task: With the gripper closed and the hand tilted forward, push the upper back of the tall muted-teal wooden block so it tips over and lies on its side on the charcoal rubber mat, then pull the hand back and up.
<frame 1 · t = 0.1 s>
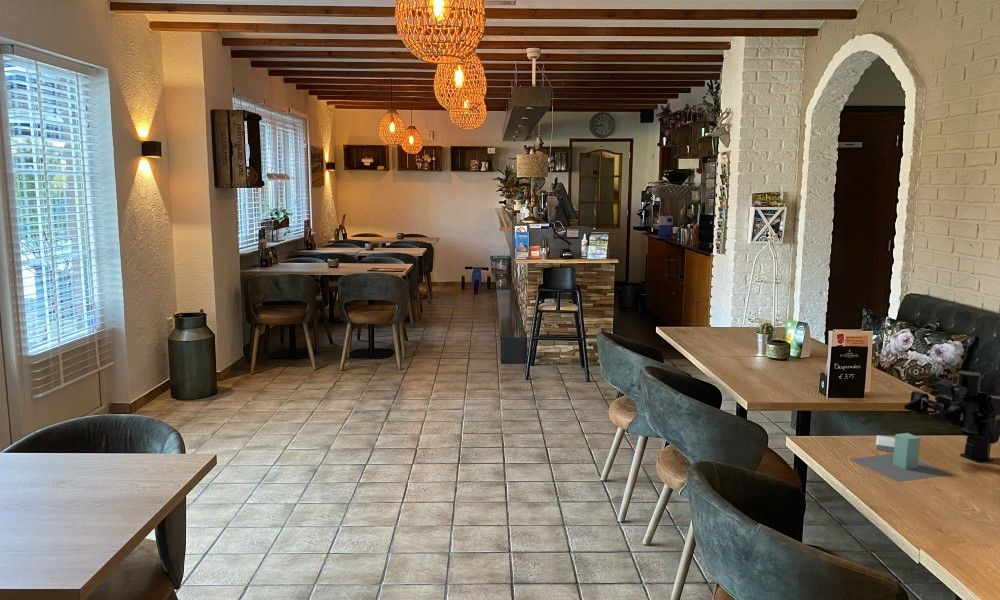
hand: (917, 411, 217), 17 cm above the table, tool horizontal, fingers open, 9 cm apart
rubber mat: (899, 467, 217), on the table
hard drive: (890, 447, 235), on the table, touching rubber mat
teal block: (904, 465, 218), resting on rubber mat
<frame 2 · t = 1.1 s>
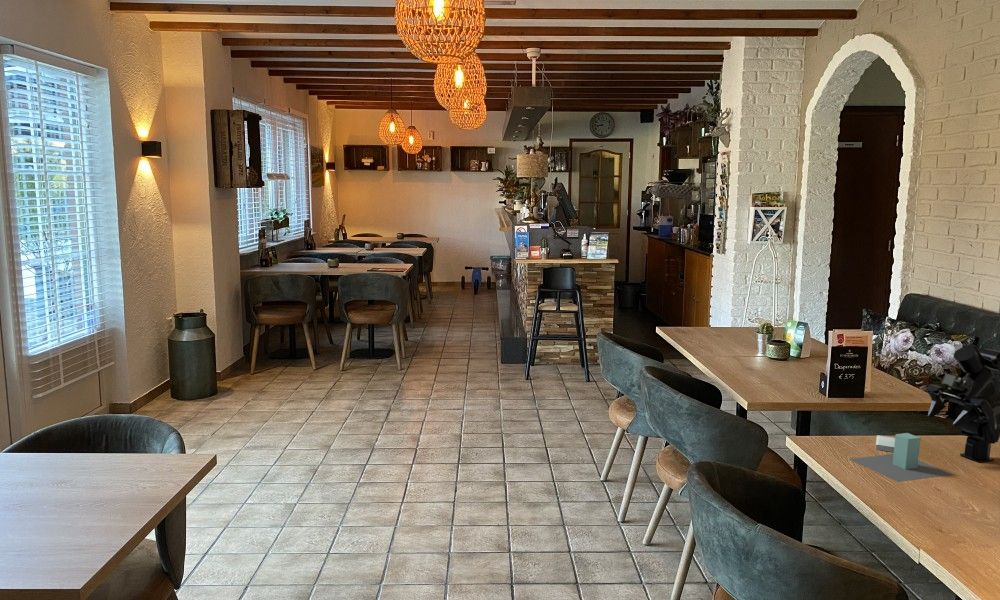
hand: (940, 421, 220), 13 cm above the table, tool tilted 45°, fingers open, 8 cm apart
nothing on the table moved.
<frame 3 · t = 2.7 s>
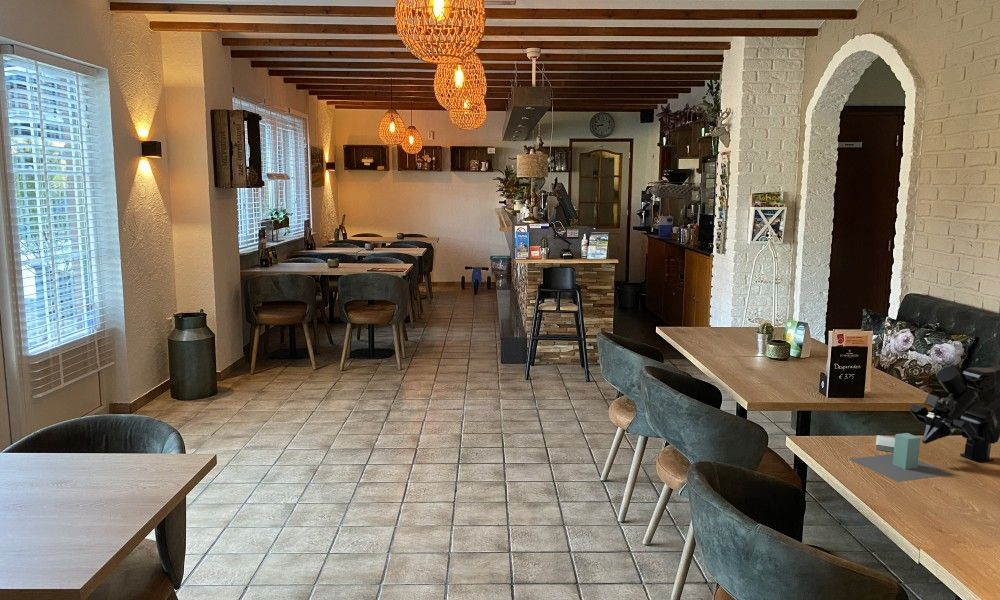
hand: (923, 442, 219), 7 cm above the table, tool tilted 45°, fingers closed
nothing on the table moved.
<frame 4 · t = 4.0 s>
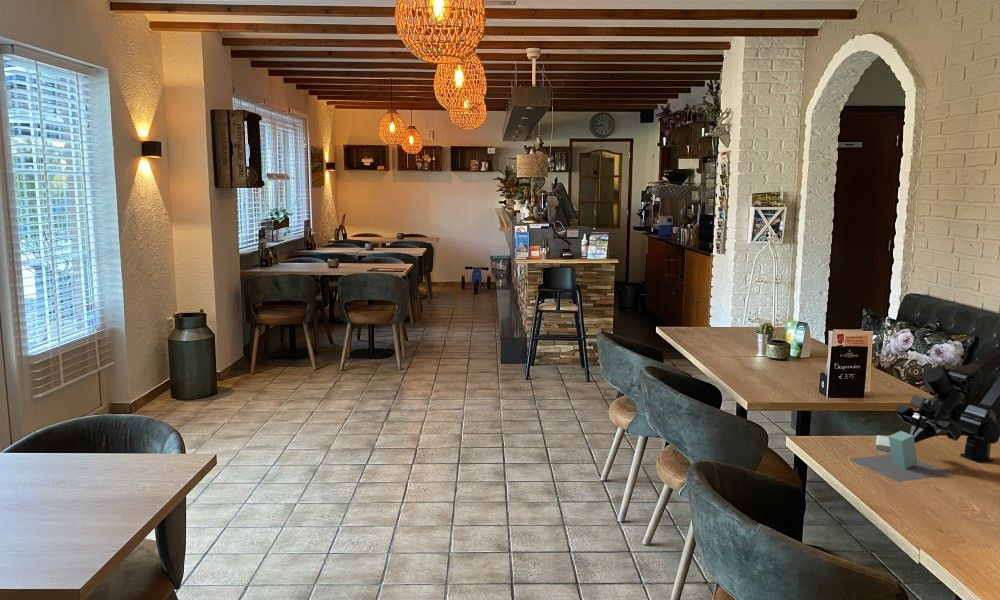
hand: (908, 443, 217), 7 cm above the table, tool tilted 45°, fingers closed, pressing on teal block
teal block: (904, 463, 218), point 1 cm above the table, tilted 16°, touching gripper, rubber mat
everything else where it was.
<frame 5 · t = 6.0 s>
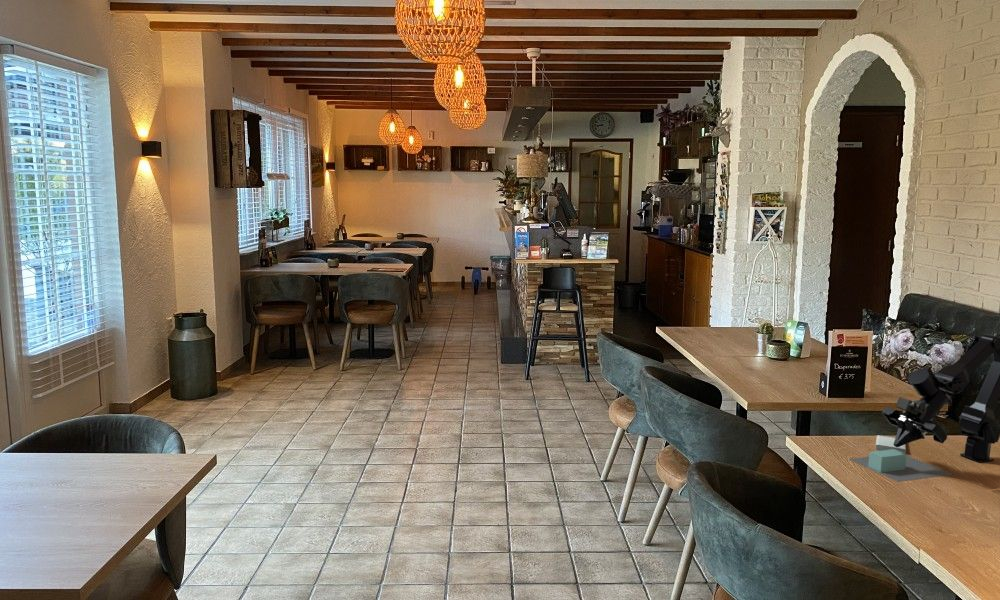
hand: (895, 446, 216), 7 cm above the table, tool tilted 45°, fingers closed
teal block: (899, 459, 217), point 3 cm above the table, tilted 90°, touching rubber mat
everything else where it was.
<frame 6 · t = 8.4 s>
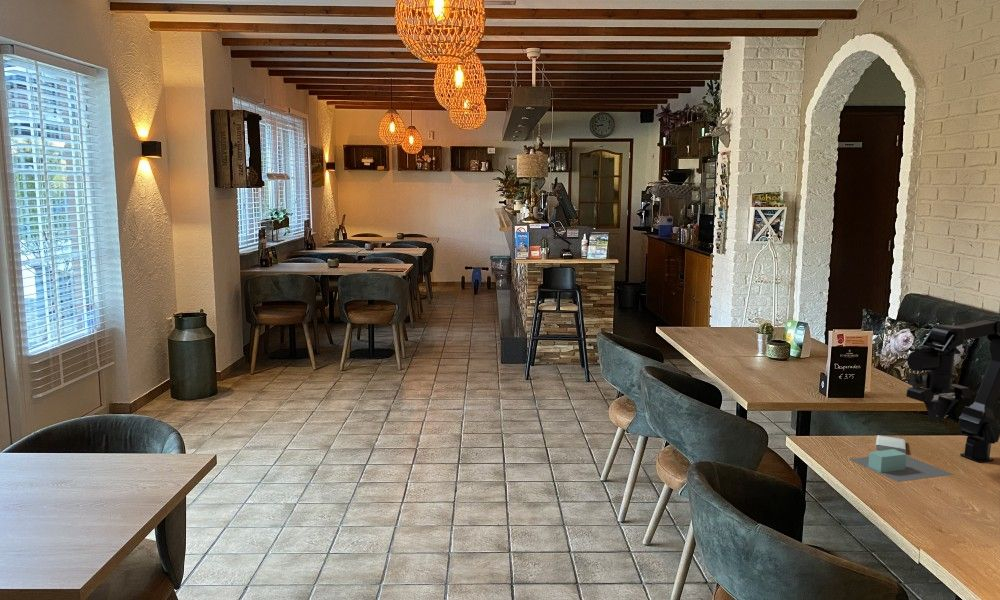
hand: (935, 421, 219), 13 cm above the table, tool pointing down, fingers open, 3 cm apart
nothing on the table moved.
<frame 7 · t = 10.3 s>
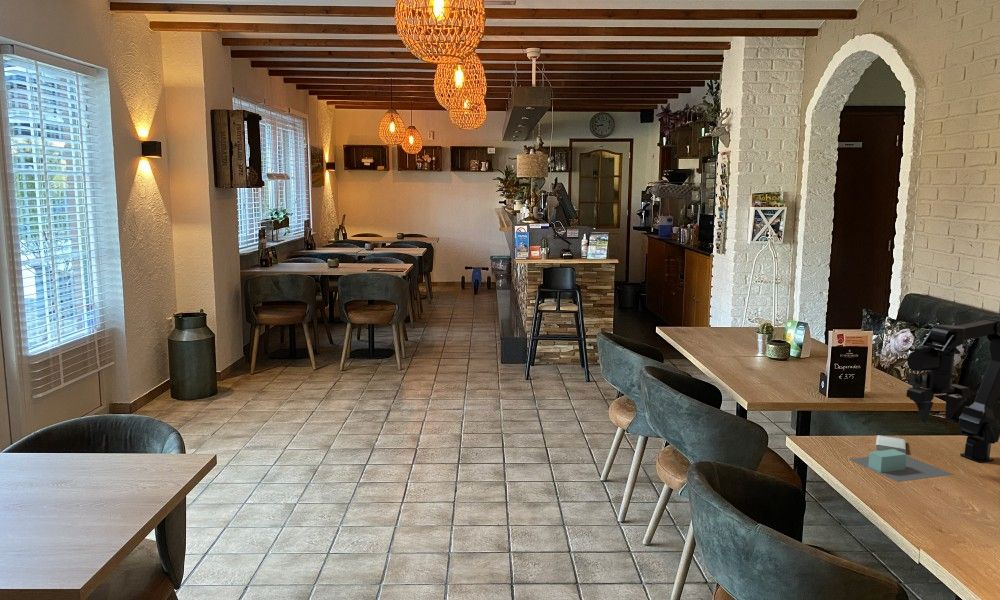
hand: (935, 421, 219), 13 cm above the table, tool pointing down, fingers open, 9 cm apart
nothing on the table moved.
at the end: teal block tilted 90°; teal block inside the target area (0.7 cm from its centre), point 2.6 cm above the table; teal block touching rubber mat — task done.
